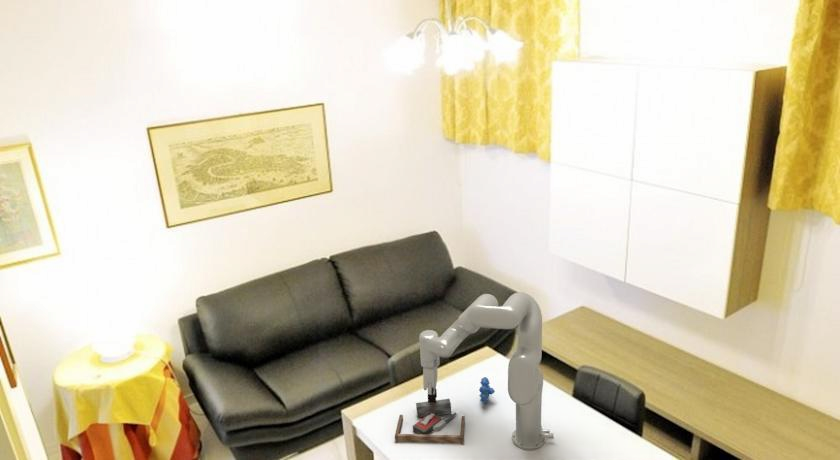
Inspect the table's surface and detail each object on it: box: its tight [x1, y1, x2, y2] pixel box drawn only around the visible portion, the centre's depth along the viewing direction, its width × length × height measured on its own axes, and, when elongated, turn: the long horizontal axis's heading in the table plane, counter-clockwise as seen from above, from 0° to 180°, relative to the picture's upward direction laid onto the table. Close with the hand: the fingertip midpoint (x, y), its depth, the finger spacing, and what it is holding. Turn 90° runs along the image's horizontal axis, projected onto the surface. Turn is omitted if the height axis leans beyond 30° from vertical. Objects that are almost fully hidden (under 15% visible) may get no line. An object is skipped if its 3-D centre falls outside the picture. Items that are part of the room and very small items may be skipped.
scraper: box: [415, 390, 452, 418], centre depth 250 cm, size 14×3×13 cm, turn 95°
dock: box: [394, 414, 466, 445], centre depth 242 cm, size 26×14×3 cm, turn 83°
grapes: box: [478, 376, 496, 405], centre depth 257 cm, size 12×7×12 cm, turn 167°
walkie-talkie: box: [412, 412, 457, 435], centre depth 247 cm, size 9×4×20 cm
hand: (432, 399), depth 250 cm, fingers closed on scraper, 2 cm apart
